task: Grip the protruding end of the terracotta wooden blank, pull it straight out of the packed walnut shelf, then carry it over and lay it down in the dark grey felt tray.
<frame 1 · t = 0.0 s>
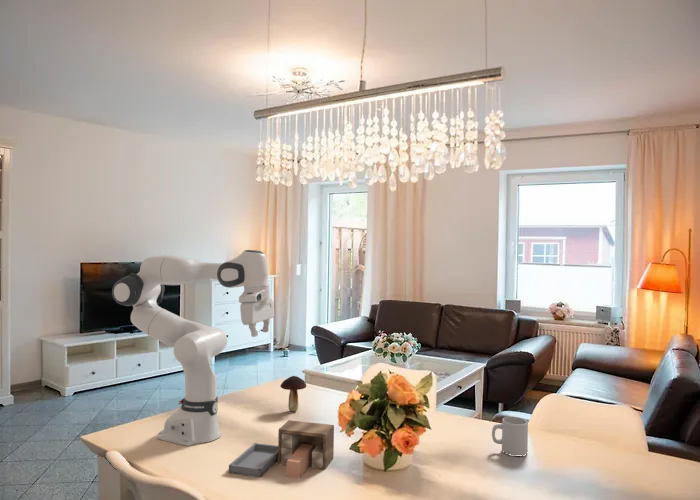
hand: (260, 334, 181), 39 cm above the table, tool pointing down, fingers open, 8 cm apart
mug: (509, 452, 178), on the table
blank: (300, 468, 162), on the table
tray: (257, 462, 165), on the table
decorative mushroom: (293, 411, 218), on the table
shelf: (306, 460, 168), on the table
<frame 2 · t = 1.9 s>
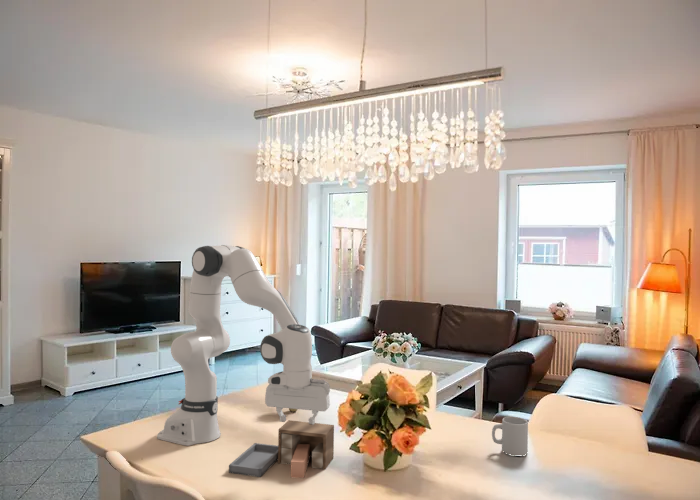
hand: (297, 422, 158), 16 cm above the table, tool pointing down, fingers open, 8 cm apart
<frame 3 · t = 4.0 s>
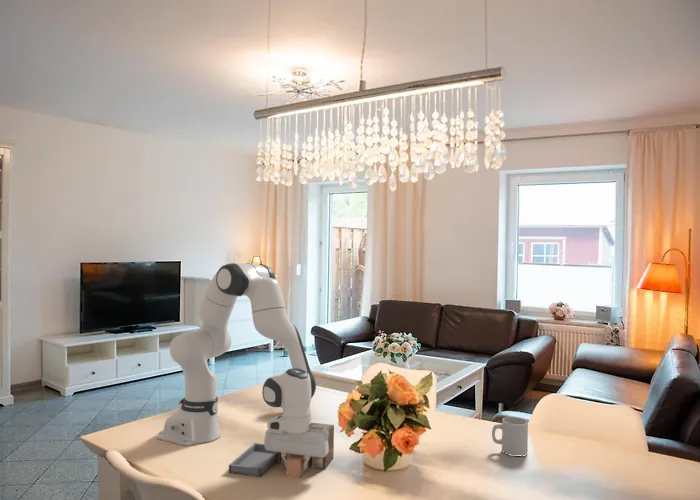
hand: (296, 467, 158), 2 cm above the table, tool pointing down, fingers closed on blank, 4 cm apart
blank: (300, 467, 162), on the table, touching gripper
everything else where it was.
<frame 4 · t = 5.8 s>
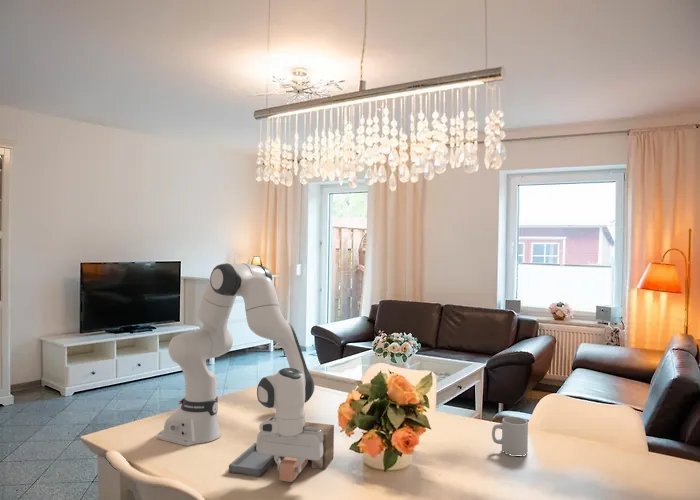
hand: (289, 470, 152), 3 cm above the table, tool pointing down, fingers closed on blank, 4 cm apart
blank: (294, 471, 156), point 1 cm above the table, touching gripper
everything else where it was.
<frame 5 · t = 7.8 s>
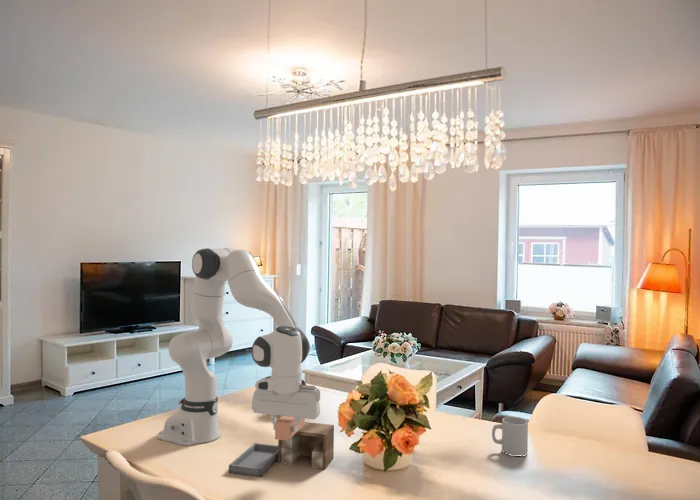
hand: (285, 430, 150), 16 cm above the table, tool pointing down, fingers closed on blank, 4 cm apart
blank: (290, 431, 154), point 15 cm above the table, touching gripper
everything else where it was.
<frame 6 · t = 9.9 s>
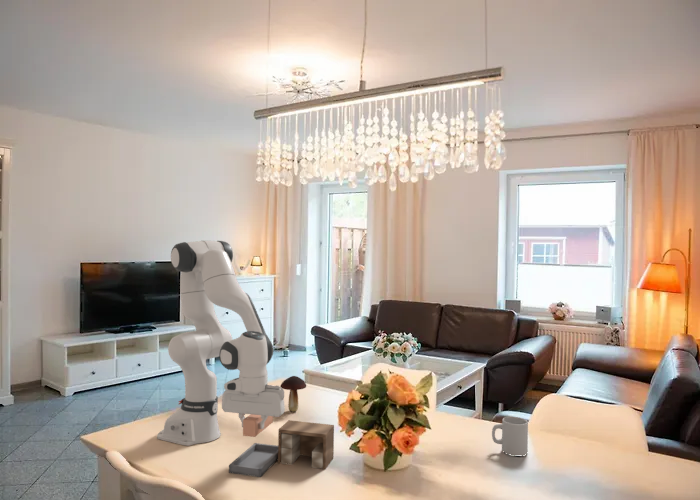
hand: (253, 427, 161), 13 cm above the table, tool pointing down, fingers closed on blank, 4 cm apart
blank: (258, 428, 165), point 11 cm above the table, touching gripper
everything else where it was.
when the fingers open (4 cm above the table, at t = 11.7 s): blank drops 2 cm, resting on tray.
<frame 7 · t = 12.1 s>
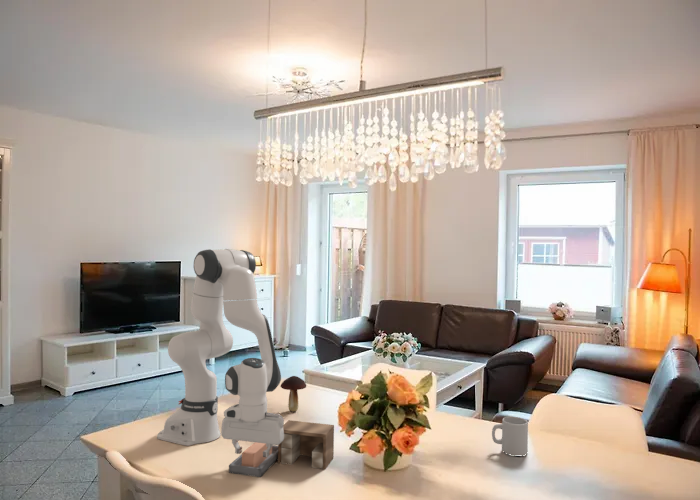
hand: (252, 454, 162), 4 cm above the table, tool pointing down, fingers open, 8 cm apart
blank: (257, 460, 165), point 1 cm above the table, touching tray
everything else where it was.
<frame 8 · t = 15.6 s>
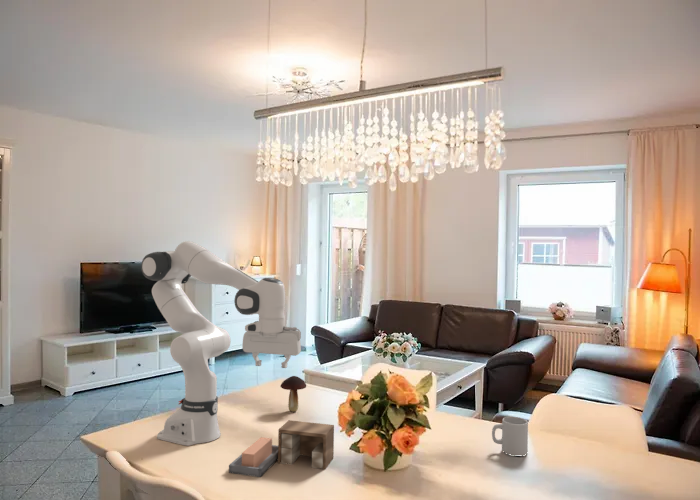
hand: (271, 366, 174), 29 cm above the table, tool pointing down, fingers open, 8 cm apart
nothing on the table moved.
at the end: blank inside the target area on the tray (0.1 cm from its centre), point 0.6 cm above the tray's base; the gripper is holding nothing; blank touching tray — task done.
